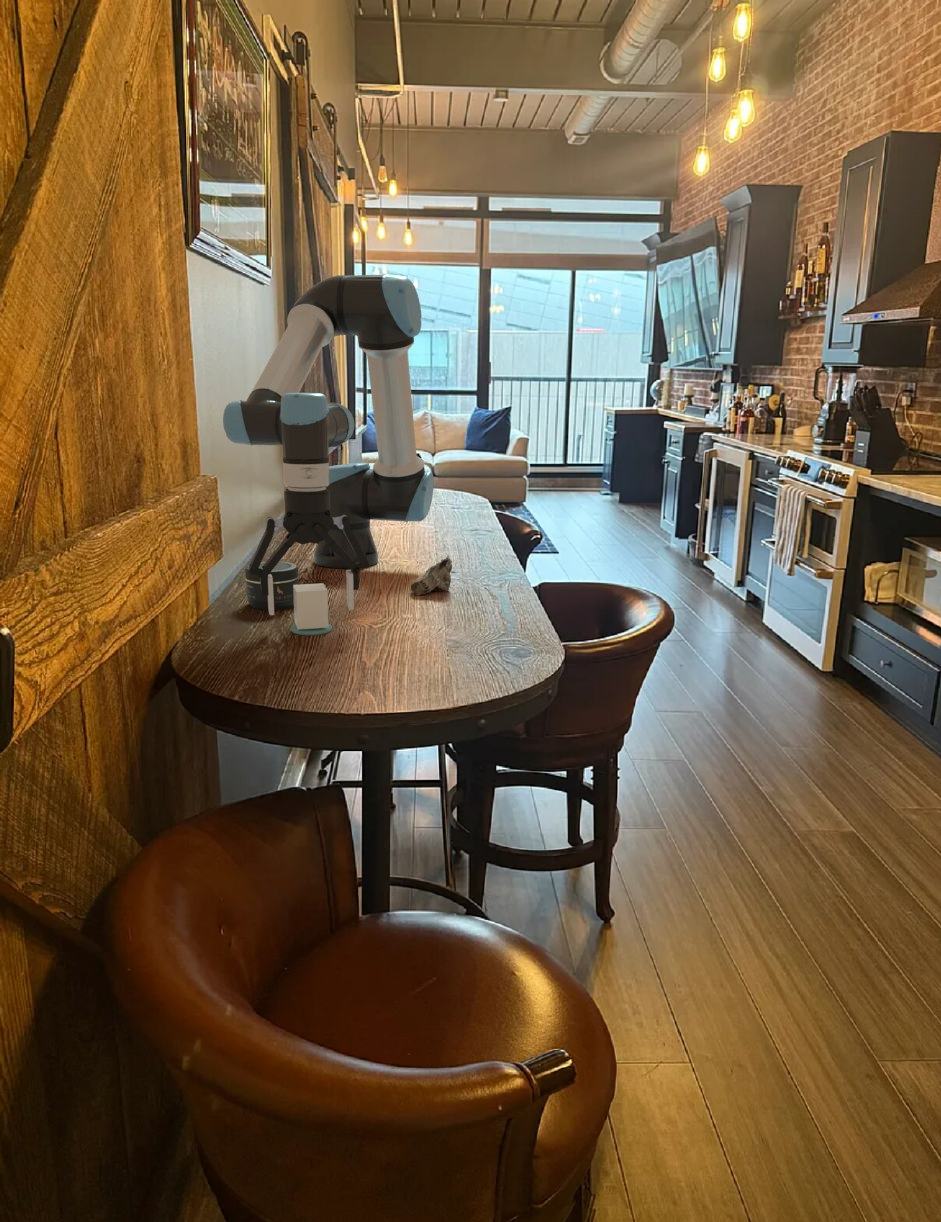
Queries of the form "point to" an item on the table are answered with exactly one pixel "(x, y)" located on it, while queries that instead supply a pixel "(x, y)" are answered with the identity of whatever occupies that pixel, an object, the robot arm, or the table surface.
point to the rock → (434, 578)
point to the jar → (282, 587)
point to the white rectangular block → (310, 606)
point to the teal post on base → (311, 630)
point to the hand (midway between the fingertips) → (311, 610)
